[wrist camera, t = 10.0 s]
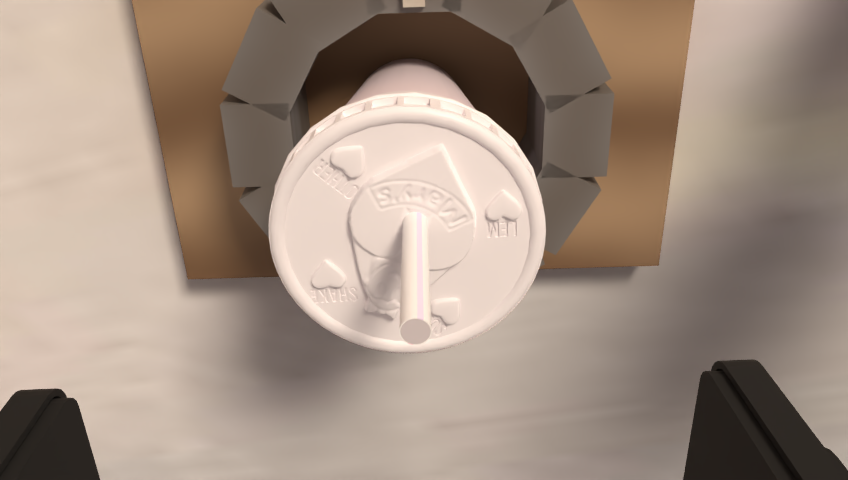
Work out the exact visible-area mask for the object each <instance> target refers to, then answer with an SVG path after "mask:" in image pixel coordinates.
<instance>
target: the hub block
mask: <svg viewBox="0 0 848 480" xmlns="http://www.w3.org/2000/svg"><path fill="white" fill-rule="evenodd" d="M694 2H695V0H132V4H133V9H134V14H135V19H136V24H137V29H138V34H139V39H140V44H141V49H142V54H143V59H144V64H145V69H146V74H147V79H148V84H149V89H150V93H151V98H152V103H153V108H154V113H155V118H156V123H157V128H158V133H159V138H160V143H161V148H162V153H163V158H164V163H165V168H166V173H167V178H168V183H169V188H170V193H171V198H172V203H173V208H174V213H175V218H176V223H177V228H178V233H179V238H180V242H181V247H182V252H183V257H184V262H185V267H186V272H187V277H188V279H212V278H247V277H279V275H278V273H277V270H276V267H275V264H274V262H273V258H272V254H271V250H270V242H269V215H270V209H271V204H272V200H273V197H274V190H275V184H276V182H277V180H278V177H279V175H280V173H281V170H282V168H283V166H284V163H285V161H286V159H287V156H288V154H289V153H290V152H291V151H292V150H293V148H294V147H295V146H296V145H297V144H298V142H299V141H300V140H301V139H302V138H303V136H304V135H305V134H306V133H307V132H308V130H309V129H310V128H311V127H312V126H314V125H315V124H317V123H318V122H320V121H321V120H323V119H324V118H326V117H327V116H329V115H330V114H331V113H333V112H334V111H336V110H337V109H339V108H340V107H342V106H345V105H346V104H347V103H348V101H349V100H350V99H351V98H352V97H353V95H354V94H355V93H356V92H357V90H358V89H359V88H360V87H361V86H362V84H363V83H364V82H365V81H366V80H367V78H368V77H369V76H370V75H371V74H372V73H373V72H374V71H375V70H377V69H378V68H379V67H381V66H383V65H384V64H387V63H389V62H392V61H395V60H399V59H409V58H412V59H420V60H424V61H428V62H430V63H433V64H435V65H437V66H438V67H440V68H441V69H443V70H444V71H445V72H446V73H447V74H448V75H449V76H450V77H451V78H452V79H453V80H454V82H455V83H456V84H457V86H458V87H459V88H460V90H461V91H462V92H463V94H464V95H465V96H466V98H467V99H468V100H469V102H470V103H471V104H472V106H473V107H474V108H475V110H477V111H479V112H481V113H483V114H486V115H487V116H488V117H490V118H491V119H492V120H493V121H494V122H495V123H496V124H498V125H499V126H500V127H501V128H502V129H503V130H505V131H506V132H507V133H508V134H509V135H510V136H511V137H513V138H514V139H515V141H516V142H517V144H518V146H519V147H520V149H521V150H522V152H523V153H524V155H525V156H526V158H527V159H528V161H529V163H530V164H531V166H532V167H533V170H534V173H535V176H536V180H537V183H538V187H539V190H540V193H541V197H542V203H543V207H544V214H545V223H546V237H545V247H544V252H543V257H542V260H541V264H540V267H539V269H555V268H589V267H624V266H658V265H659V258H660V251H661V244H662V236H663V229H664V222H665V214H666V207H667V200H668V192H669V185H670V178H671V170H672V163H673V156H674V149H675V141H676V134H677V127H678V119H679V112H680V105H681V97H682V90H683V83H684V75H685V68H686V61H687V54H688V46H689V39H690V32H691V24H692V17H693V10H694Z"/></svg>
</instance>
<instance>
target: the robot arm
mask: <svg viewBox="0 0 848 480" xmlns="http://www.w3.org/2000/svg"><path fill="white" fill-rule="evenodd" d="M0 480H100V478H99V474H98V471H97V467H96V464H95V460H94V457H93V453H92V450H91V447H90V443H89V440H88V436H87V433H86V429H85V426H84V422H83V419H82V416H81V412H80V409H79V406H78V403H77V401H76V400H75V399H74V398H67V397H66V395H65V393H64V392H63V391H62V390H61V389H35V390H20V391H17V392H16V393H15V394H14V395H13V396H12V397H11V398H10V399H9V401H8V402H7V403H6V405H5V406H4V407H3V408H2V410H1V411H0ZM683 480H848V470H847V469H846V468H845V466H844V465H843V464H842V462H841V461H840V460H839V458H838V457H837V456H836V455H835V454H834V453H833V452H832V451H831V450H829V449H827V448H825V447H824V446H823V445H822V444H821V442H820V441H819V440H818V438H817V437H816V436H815V434H814V433H813V432H812V431H811V429H810V428H809V427H808V425H807V424H806V423H805V421H804V420H803V419H802V417H801V416H800V415H799V413H798V412H797V411H796V409H795V408H794V407H793V405H792V404H791V403H790V402H789V400H788V399H787V398H786V396H785V395H784V394H783V392H782V391H781V390H780V388H779V387H778V386H777V384H776V383H775V382H774V380H773V379H772V378H771V376H770V375H769V374H768V373H767V371H766V370H765V369H764V367H763V366H762V365H761V364H760V363H759V362H758V361H756V360H731V361H717V362H715V363H714V365H713V366H712V370H711V371H705V372H703V373H702V375H701V378H700V383H699V389H698V395H697V401H696V406H695V412H694V418H693V424H692V430H691V436H690V442H689V448H688V454H687V460H686V466H685V472H684V478H683Z"/></svg>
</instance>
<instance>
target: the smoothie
mask: <svg viewBox="0 0 848 480" xmlns="http://www.w3.org/2000/svg"><path fill="white" fill-rule="evenodd" d="M545 237H546V223H545V214H544V207H543V203H542V197H541V193H540V190H539V187H538V183H537V180H536V176H535V173H534V170H533V167H532V166H531V164H530V163H529V161H528V159H527V158H526V156H525V155H524V153H523V152H522V150H521V149H520V147H519V146H518V144H517V142H516V141H515V139H514V138H513V137H511V136H510V135H509V134H508V133H507V132H506V131H505V130H503V129H502V128H501V127H500V126H499V125H498V124H496V123H495V122H494V121H493V120H492V119H491V118H490V117H488V116H487V115H486V114H483V113H481V112H479V111H477V110H475V108H474V107H473V106H472V104H471V103H470V102H469V100H468V99H467V98H466V96H465V95H464V94H463V92H462V91H461V90H460V88H459V87H458V86H457V84H456V83H455V82H454V80H453V79H452V78H451V77H450V76H449V75H448V74H447V73H446V72H445V71H444V70H443V69H441V68H440V67H438V66H437V65H435V64H433V63H430V62H428V61H424V60H420V59H412V58H409V59H399V60H395V61H392V62H389V63H387V64H384V65H383V66H381V67H379V68H378V69H377V70H375V71H374V72H373V73H372V74H371V75H370V76H369V77H368V78H367V80H366V81H365V82H364V83H363V84H362V86H361V87H360V88H359V89H358V90H357V92H356V93H355V94H354V95H353V97H352V98H351V99H350V100H349V101H348V103H347V104H346V105H345V106H342V107H340V108H339V109H337V110H336V111H334V112H333V113H331V114H330V115H329V116H327V117H326V118H324V119H323V120H321V121H320V122H318V123H317V124H315V125H314V126H312V127H311V128H310V129H309V130H308V132H307V133H306V134H305V135H304V136H303V138H302V139H301V140H300V141H299V142H298V144H297V145H296V146H295V147H294V148H293V150H292V151H291V152H290V153H289V154H288V156H287V159H286V161H285V163H284V166H283V168H282V170H281V173H280V175H279V177H278V180H277V182H276V184H275V190H274V197H273V200H272V204H271V209H270V215H269V242H270V250H271V254H272V258H273V262H274V264H275V267H276V270H277V273H278V275H279V277H280V279H281V281H282V283H283V285H284V286H285V288H286V290H287V291H288V293H289V294H290V296H291V297H292V298H293V300H294V301H295V302H296V304H297V305H298V306H299V307H300V308H301V309H302V310H303V311H304V312H305V313H306V314H307V315H308V316H309V317H310V318H311V319H313V320H314V321H315V322H316V323H318V324H319V325H320V326H322V327H323V328H325V329H326V330H328V331H330V332H331V333H333V334H334V335H336V336H338V337H340V338H342V339H344V340H347V341H349V342H352V343H354V344H357V345H360V346H363V347H366V348H370V349H375V350H379V351H386V352H393V353H422V352H431V351H436V350H441V349H445V348H449V347H453V346H456V345H459V344H461V343H464V342H467V341H469V340H471V339H473V338H475V337H477V336H479V335H481V334H483V333H484V332H486V331H488V330H489V329H491V328H492V327H494V326H495V325H496V324H498V323H499V322H500V321H501V320H503V319H504V318H505V317H506V316H507V315H508V314H509V313H510V312H511V311H512V310H513V309H514V308H515V307H516V306H517V305H518V304H519V302H520V301H521V300H522V299H523V297H524V296H525V294H526V293H527V291H528V290H529V288H530V286H531V285H532V283H533V281H534V279H535V277H536V274H537V272H538V270H539V267H540V264H541V260H542V257H543V252H544V247H545Z"/></svg>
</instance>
